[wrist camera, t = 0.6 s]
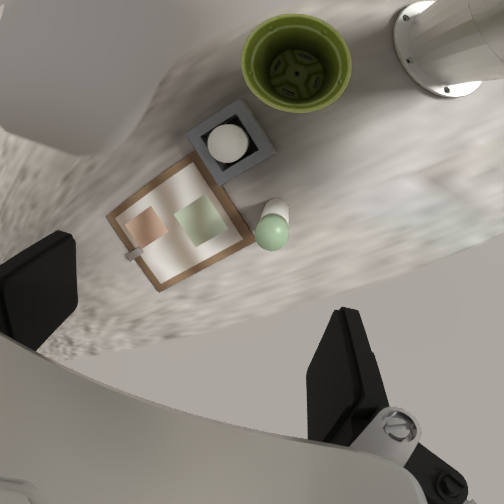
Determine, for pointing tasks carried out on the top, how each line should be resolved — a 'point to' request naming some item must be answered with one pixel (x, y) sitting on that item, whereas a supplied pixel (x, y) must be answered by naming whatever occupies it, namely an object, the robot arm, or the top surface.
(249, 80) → the plant pot
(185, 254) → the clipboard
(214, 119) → the button box
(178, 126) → the top surface
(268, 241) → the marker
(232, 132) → the button cap
